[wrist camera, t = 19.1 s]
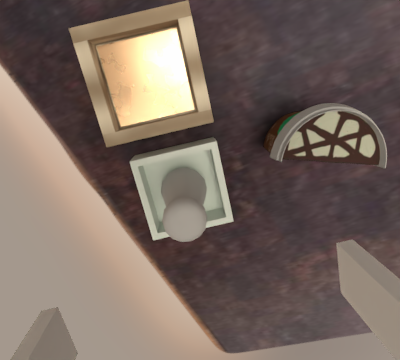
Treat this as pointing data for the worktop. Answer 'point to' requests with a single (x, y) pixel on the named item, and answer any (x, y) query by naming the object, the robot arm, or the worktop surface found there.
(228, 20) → the worktop surface
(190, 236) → the salt shaker
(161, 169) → the bin
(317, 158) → the food container
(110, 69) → the plate
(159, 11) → the beige square tray
